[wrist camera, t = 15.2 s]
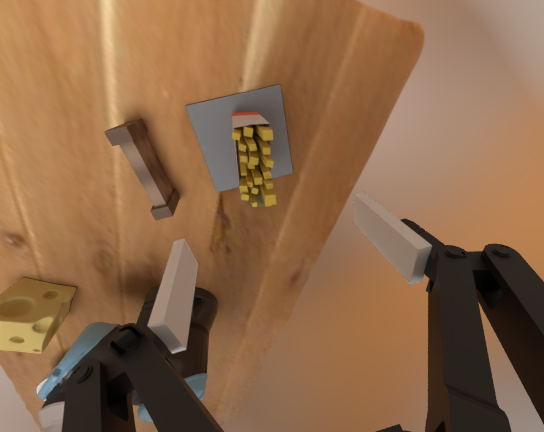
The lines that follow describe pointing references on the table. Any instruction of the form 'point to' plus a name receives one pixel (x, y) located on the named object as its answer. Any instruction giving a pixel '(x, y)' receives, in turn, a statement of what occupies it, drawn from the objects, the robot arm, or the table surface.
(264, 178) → the french fries container
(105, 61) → the table surface
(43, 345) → the cheese
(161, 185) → the walnut fence
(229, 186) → the slate mat
